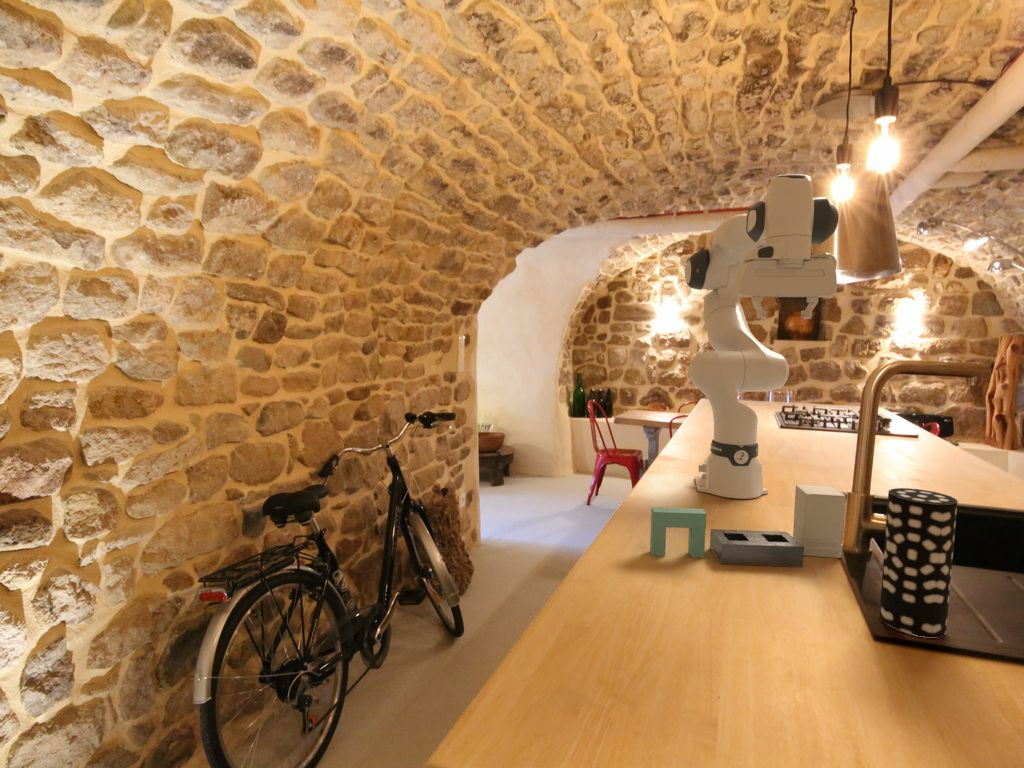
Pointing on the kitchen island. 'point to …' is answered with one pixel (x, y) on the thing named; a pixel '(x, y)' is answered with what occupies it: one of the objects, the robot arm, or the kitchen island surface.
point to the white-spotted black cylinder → (918, 561)
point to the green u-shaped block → (678, 519)
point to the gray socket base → (756, 548)
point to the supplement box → (819, 520)
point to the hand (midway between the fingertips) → (783, 318)
